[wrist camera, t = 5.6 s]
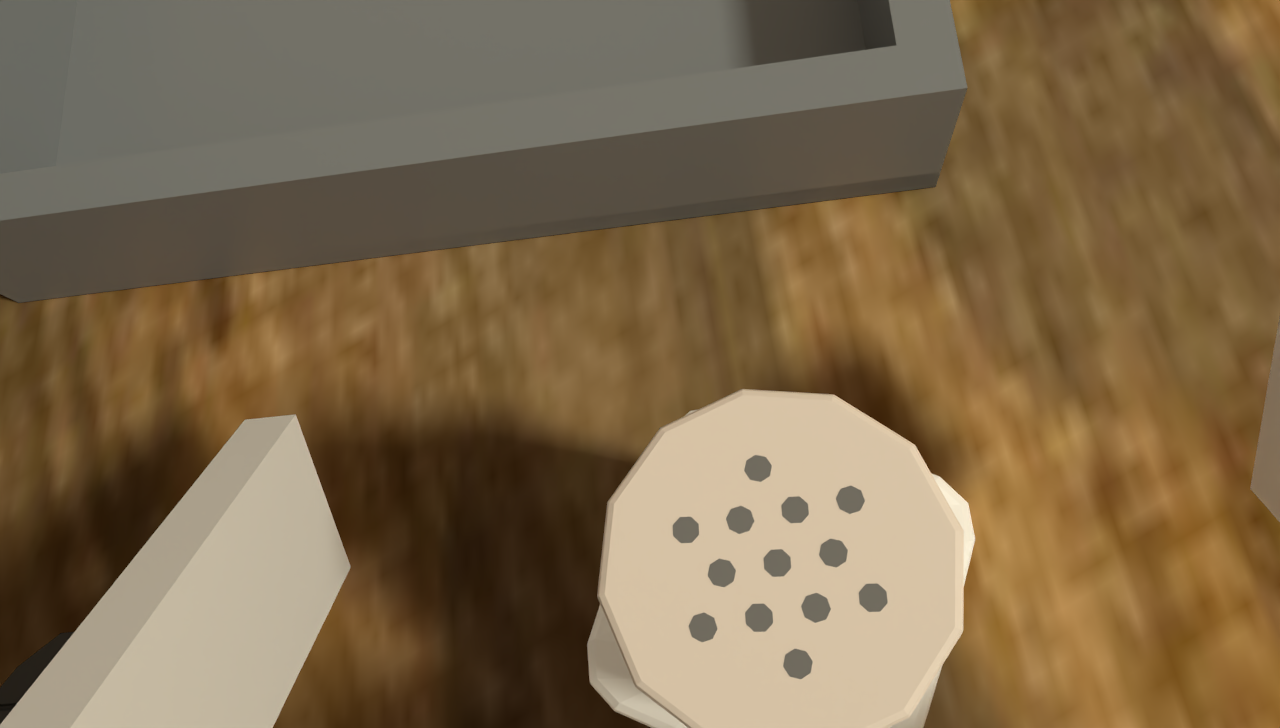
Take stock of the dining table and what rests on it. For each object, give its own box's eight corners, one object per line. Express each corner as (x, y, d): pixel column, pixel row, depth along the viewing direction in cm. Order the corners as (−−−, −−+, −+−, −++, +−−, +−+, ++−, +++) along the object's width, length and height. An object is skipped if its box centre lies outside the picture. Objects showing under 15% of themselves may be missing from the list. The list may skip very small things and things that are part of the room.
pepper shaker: (922, 547, 17) (1073, 420, 8) (855, 771, 16) (946, 904, 7) (712, 474, 18) (643, 290, 9) (637, 682, 17) (480, 704, 8)
